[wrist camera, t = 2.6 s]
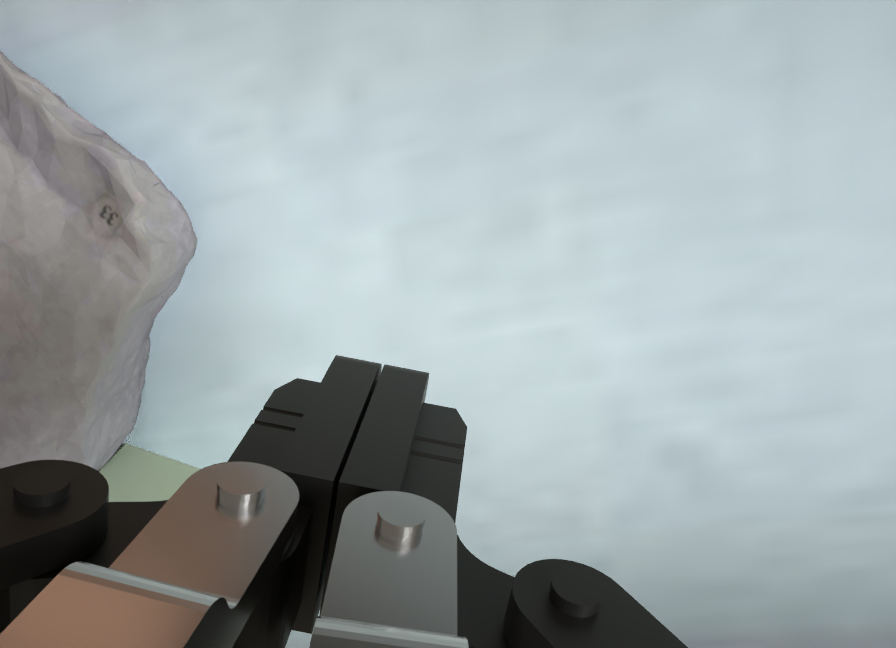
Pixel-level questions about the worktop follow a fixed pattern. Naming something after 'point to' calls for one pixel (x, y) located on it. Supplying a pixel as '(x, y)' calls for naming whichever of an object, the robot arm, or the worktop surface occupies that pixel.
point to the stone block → (76, 277)
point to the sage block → (144, 475)
